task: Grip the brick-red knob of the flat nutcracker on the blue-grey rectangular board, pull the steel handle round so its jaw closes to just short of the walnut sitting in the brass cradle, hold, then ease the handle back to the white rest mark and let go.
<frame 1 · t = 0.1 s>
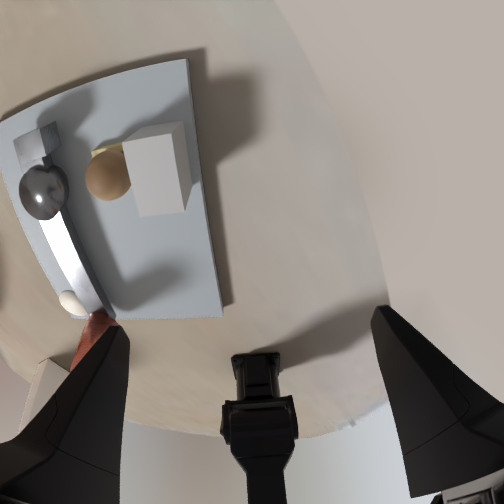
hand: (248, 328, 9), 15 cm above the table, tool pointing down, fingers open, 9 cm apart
milk: (55, 368, 40), on the table
lever: (54, 275, 18), point 6 cm above the table, hinge at 0.0°
nut: (109, 175, 17), point 3 cm above the table, touching blue-grey rectangular board
blue-grey rectangular board: (61, 175, 19), on the table
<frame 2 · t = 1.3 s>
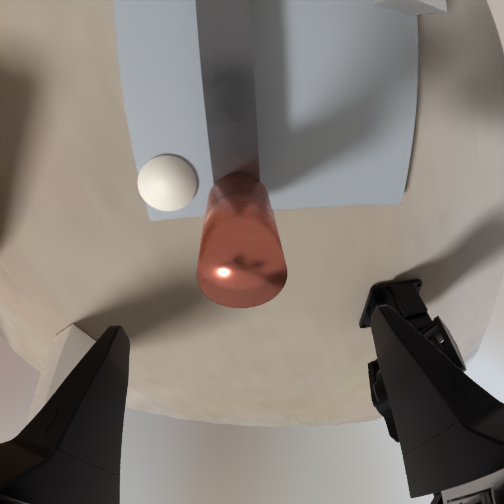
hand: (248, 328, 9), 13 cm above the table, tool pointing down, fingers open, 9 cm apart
milk: (80, 341, 31), on the table
lever: (228, 37, 9), point 6 cm above the table, hinge at 0.0°
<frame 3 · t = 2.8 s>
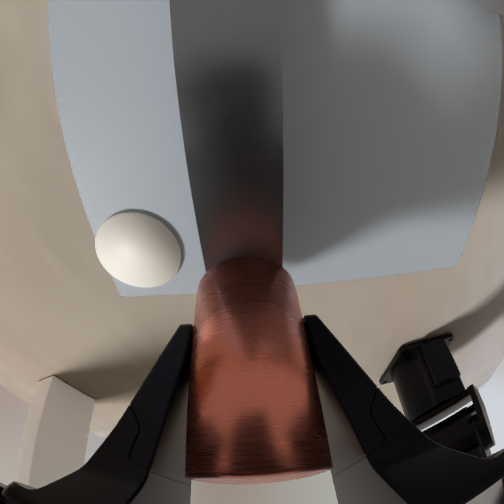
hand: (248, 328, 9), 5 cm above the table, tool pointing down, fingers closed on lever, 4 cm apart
milk: (65, 389, 24), on the table
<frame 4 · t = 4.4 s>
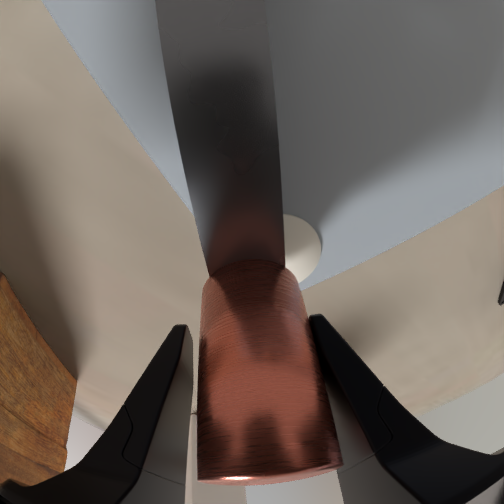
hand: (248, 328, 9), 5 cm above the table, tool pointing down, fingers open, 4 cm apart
milk: (206, 423, 29), on the table
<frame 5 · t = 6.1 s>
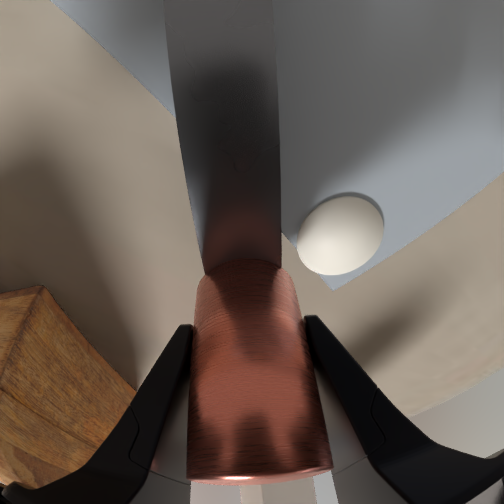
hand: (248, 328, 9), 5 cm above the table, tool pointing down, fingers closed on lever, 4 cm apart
milk: (268, 420, 29), on the table
wooden box: (1, 343, 19), on the table
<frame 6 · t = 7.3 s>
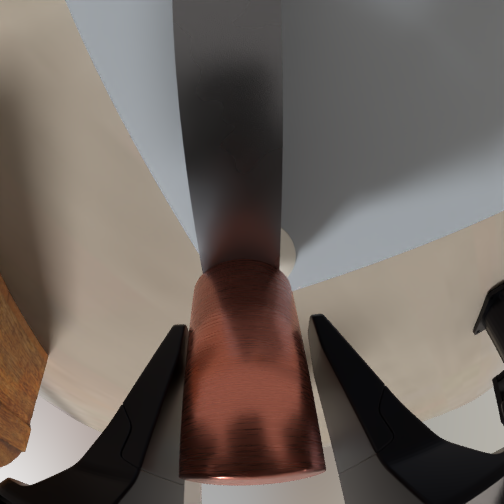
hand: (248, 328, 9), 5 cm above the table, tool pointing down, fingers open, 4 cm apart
milk: (168, 417, 28), on the table
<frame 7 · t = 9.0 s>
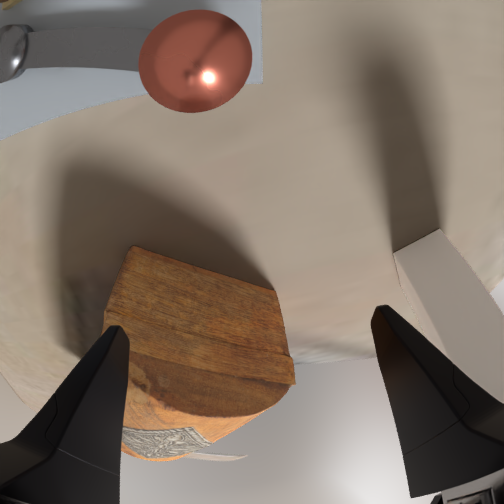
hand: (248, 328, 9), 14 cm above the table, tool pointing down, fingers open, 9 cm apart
milk: (419, 258, 26), on the table
lever: (41, 46, 8), point 6 cm above the table, hinge at 19.2°
wooden box: (168, 344, 34), on the table
blue-grey rectangular board: (32, 49, 11), on the table
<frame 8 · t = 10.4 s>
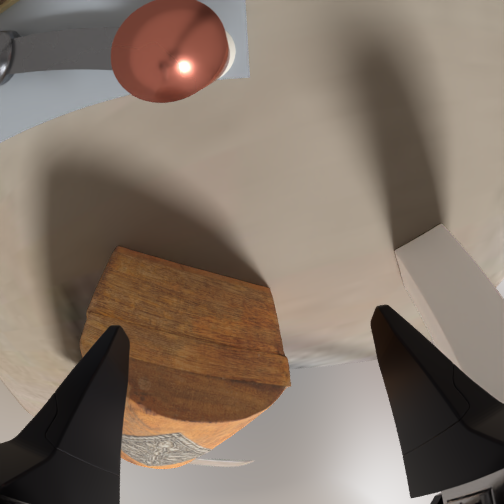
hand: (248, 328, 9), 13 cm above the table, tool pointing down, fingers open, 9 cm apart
milk: (421, 254, 25), on the table
lever: (24, 49, 7), point 6 cm above the table, hinge at 19.2°
wooden box: (165, 348, 33), on the table
blue-grey rectangular board: (20, 55, 11), on the table
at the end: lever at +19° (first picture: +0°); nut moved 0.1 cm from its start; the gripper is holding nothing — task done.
